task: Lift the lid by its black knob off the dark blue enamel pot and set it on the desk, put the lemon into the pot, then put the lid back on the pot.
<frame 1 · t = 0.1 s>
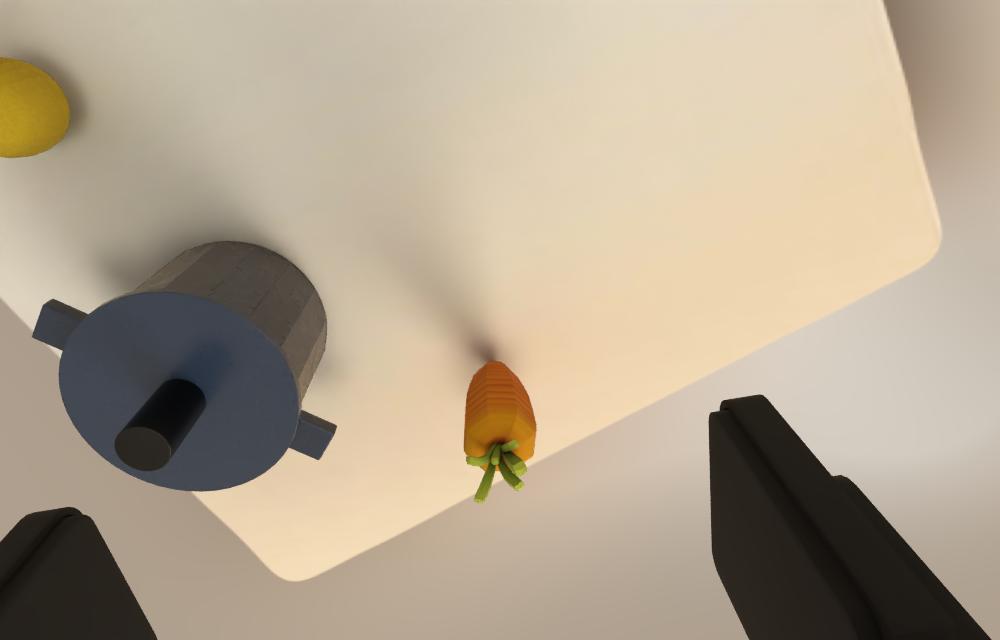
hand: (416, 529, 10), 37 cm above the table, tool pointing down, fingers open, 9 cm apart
pot: (241, 321, 48), on the table
lemon: (50, 101, 41), on the table
carrot: (493, 363, 50), on the table
lid: (185, 394, 38), point 10 cm above the table, touching pot
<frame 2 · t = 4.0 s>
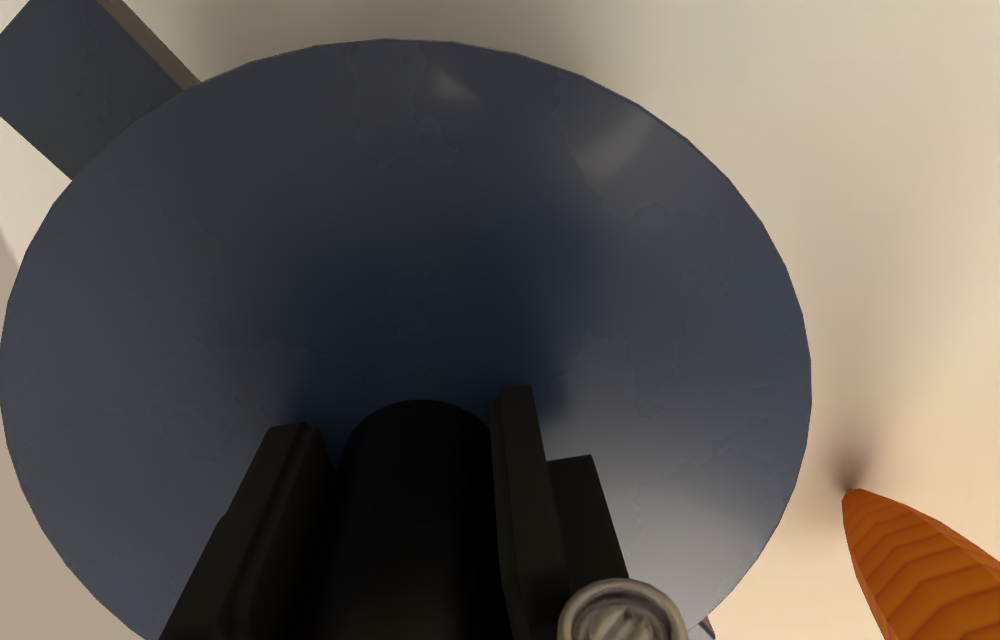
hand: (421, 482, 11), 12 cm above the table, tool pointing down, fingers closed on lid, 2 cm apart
pot: (442, 261, 21), on the table
carrot: (846, 489, 26), on the table
lid: (424, 447, 12), point 11 cm above the table, touching gripper, pot
when the fingers open (2 cm above the table, at t = 12.2 s): lid stays where it is, point 1 cm above the table.
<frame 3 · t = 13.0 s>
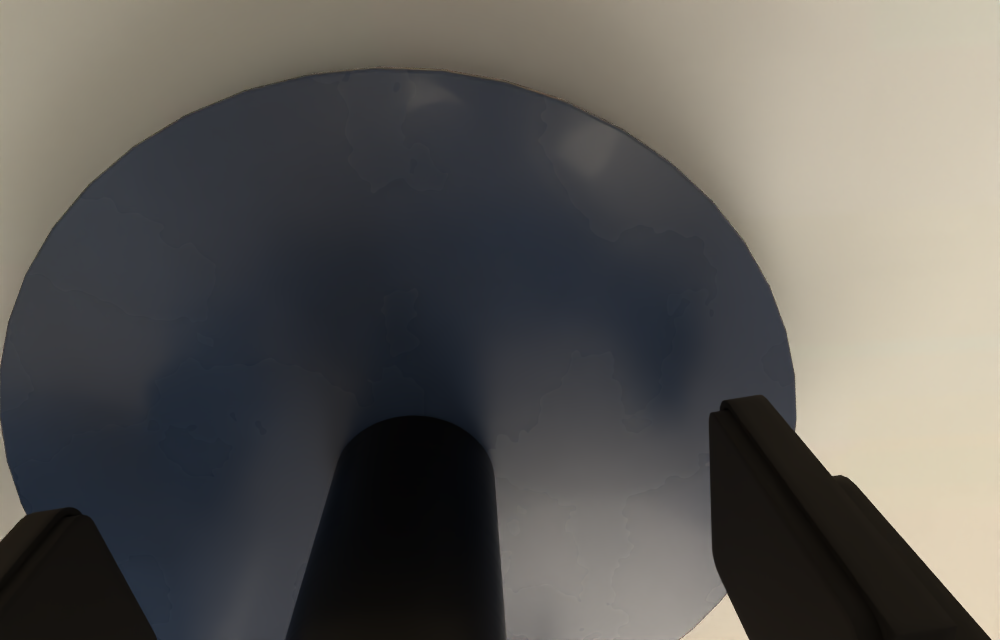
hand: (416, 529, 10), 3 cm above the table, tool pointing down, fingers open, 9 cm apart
lid: (417, 461, 12), point 1 cm above the table
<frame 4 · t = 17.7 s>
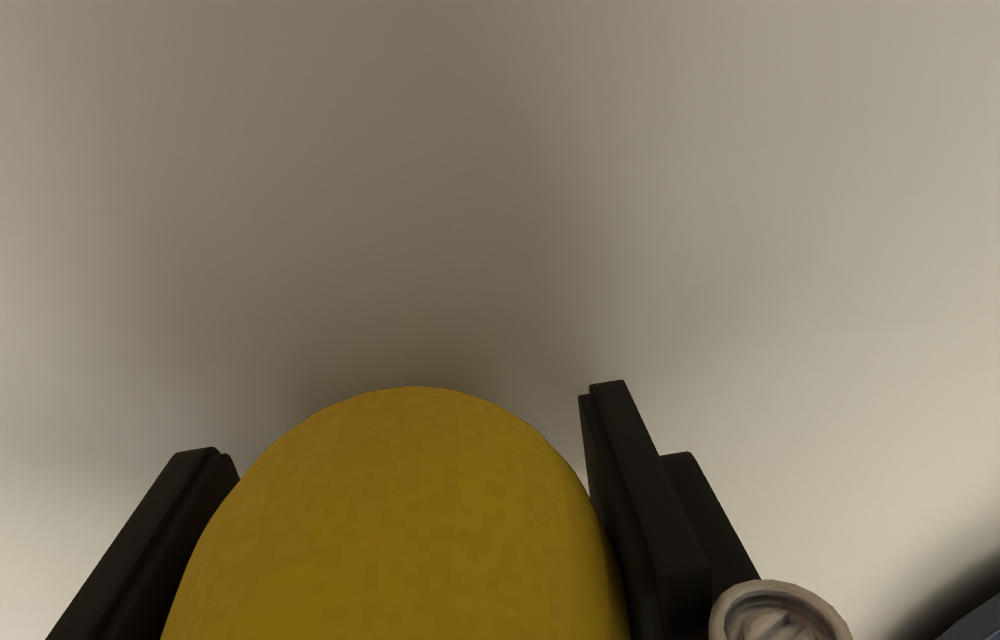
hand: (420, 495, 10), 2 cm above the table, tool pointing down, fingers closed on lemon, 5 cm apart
lemon: (426, 434, 12), on the table, touching gripper
when the fingers open (10 cm above the table, at t = 23.6 s): lemon drops 8 cm, resting on pot.
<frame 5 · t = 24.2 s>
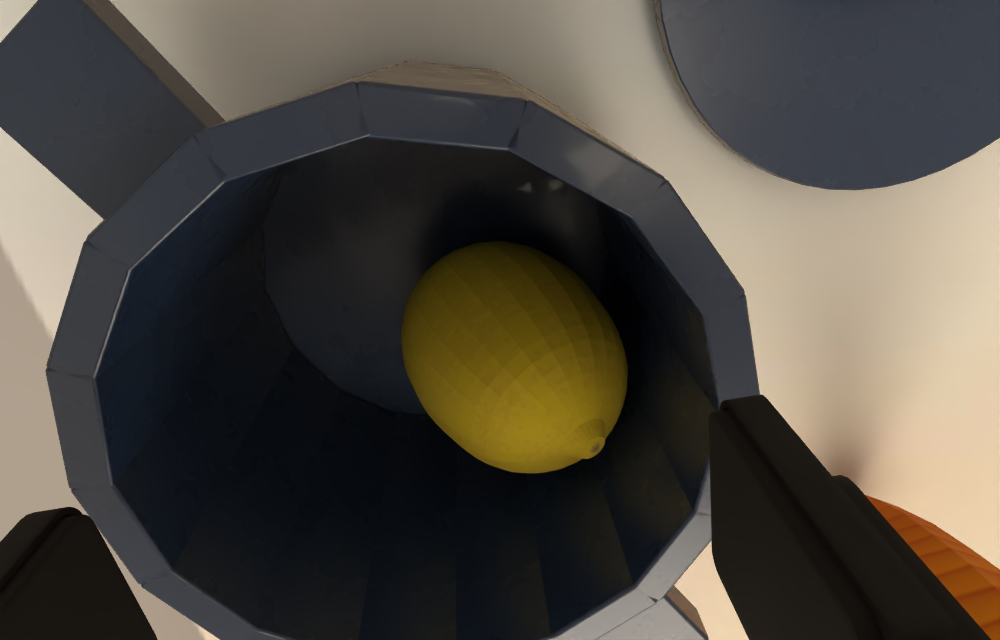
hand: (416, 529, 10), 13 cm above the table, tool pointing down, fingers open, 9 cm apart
pot: (437, 266, 21), on the table
lemon: (443, 274, 20), point 1 cm above the table, touching pot
carrot: (840, 492, 26), on the table
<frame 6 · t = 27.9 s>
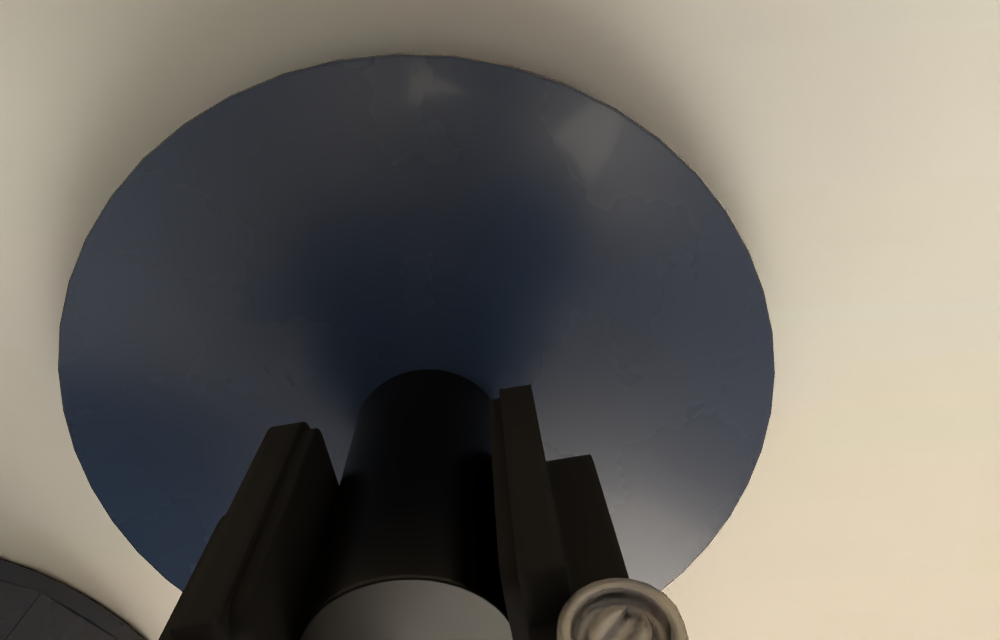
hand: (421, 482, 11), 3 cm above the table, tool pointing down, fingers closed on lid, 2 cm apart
lid: (431, 414, 13), point 1 cm above the table, touching gripper
when the fingers open (13 cm above the table, at t = 34.9 s): lid stays where it is, resting on pot.
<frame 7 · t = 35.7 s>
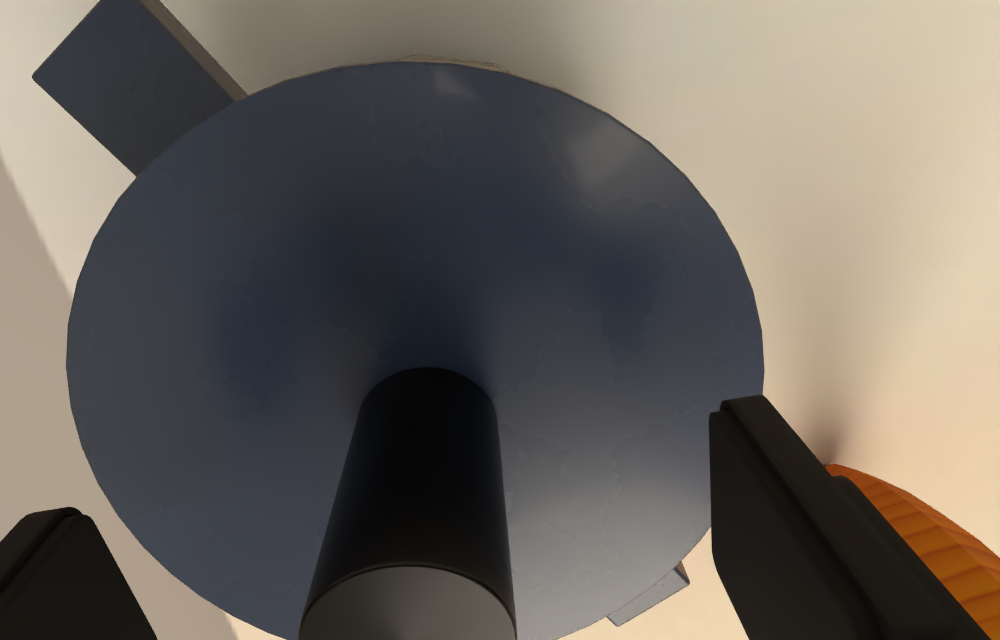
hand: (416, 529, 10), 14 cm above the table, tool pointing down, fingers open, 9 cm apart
pot: (442, 247, 23), on the table
carrot: (823, 465, 28), on the table
lid: (429, 411, 13), point 10 cm above the table, touching pot
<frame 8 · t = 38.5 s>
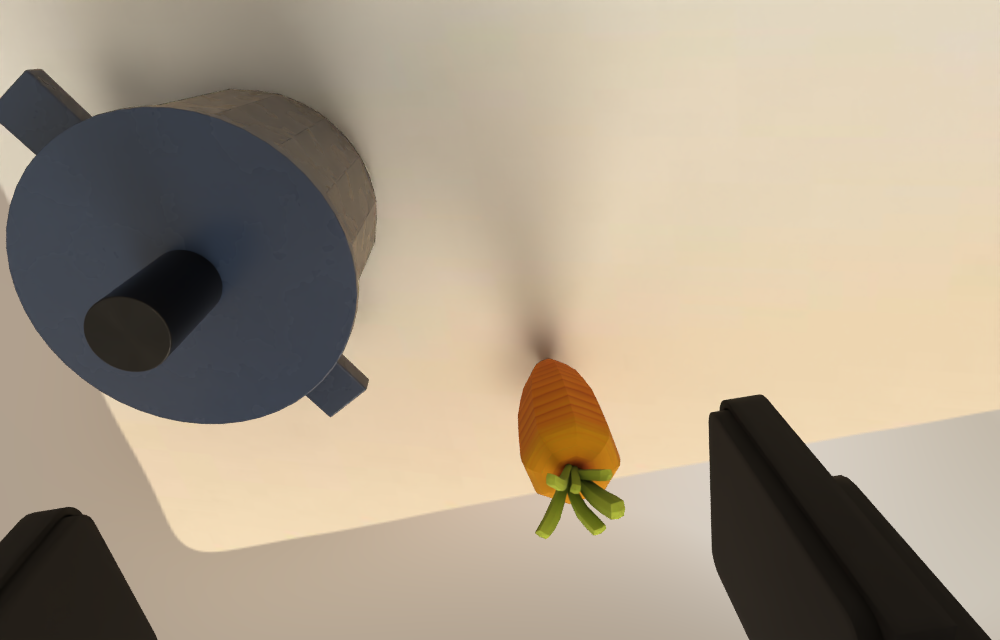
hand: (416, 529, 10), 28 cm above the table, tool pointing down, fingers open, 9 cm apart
pot: (263, 208, 36), on the table
carrot: (546, 362, 41), on the table
lid: (192, 277, 26), point 10 cm above the table, touching pot
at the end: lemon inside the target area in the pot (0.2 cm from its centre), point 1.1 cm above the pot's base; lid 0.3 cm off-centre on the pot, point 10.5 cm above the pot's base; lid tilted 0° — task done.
